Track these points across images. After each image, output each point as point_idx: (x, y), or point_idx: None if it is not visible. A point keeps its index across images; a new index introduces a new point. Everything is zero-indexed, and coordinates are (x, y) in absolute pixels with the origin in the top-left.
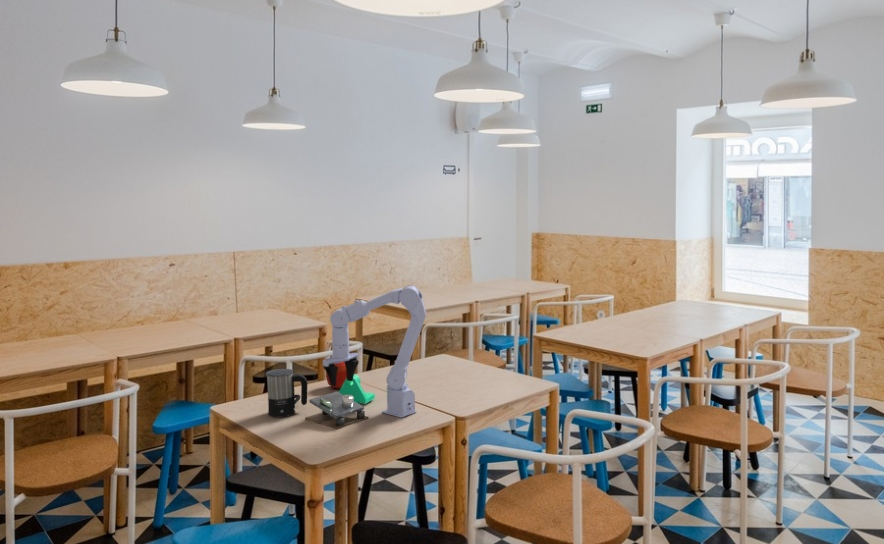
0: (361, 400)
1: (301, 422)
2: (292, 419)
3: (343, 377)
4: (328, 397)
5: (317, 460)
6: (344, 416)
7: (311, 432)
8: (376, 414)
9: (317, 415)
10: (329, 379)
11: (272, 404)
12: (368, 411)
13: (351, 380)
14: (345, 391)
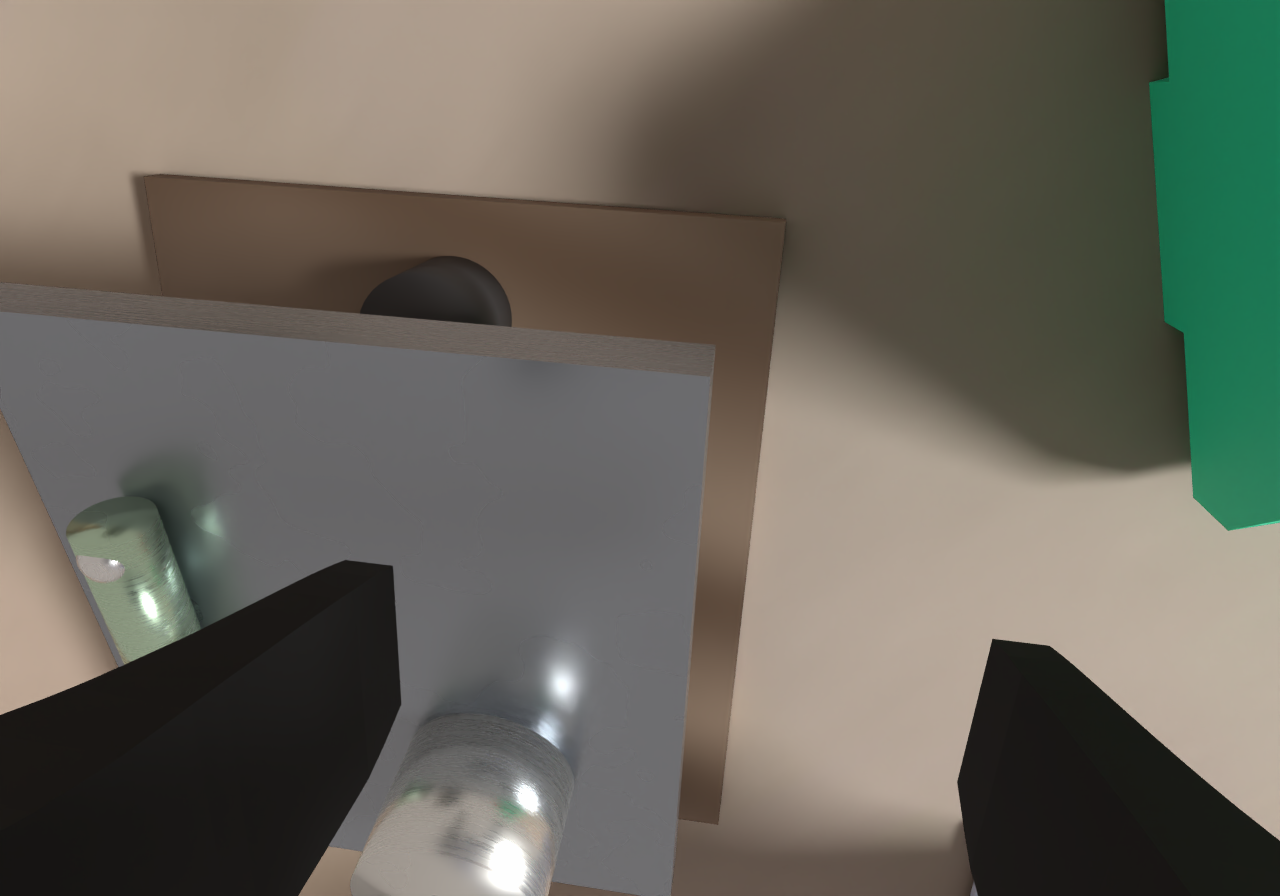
0: (1209, 441)
1: (66, 234)
2: (23, 3)
3: None
4: (359, 460)
5: None
6: None
7: (7, 591)
8: (899, 802)
9: (324, 259)
10: (220, 630)
11: None
12: (953, 662)
13: (969, 805)
14: (1274, 89)
